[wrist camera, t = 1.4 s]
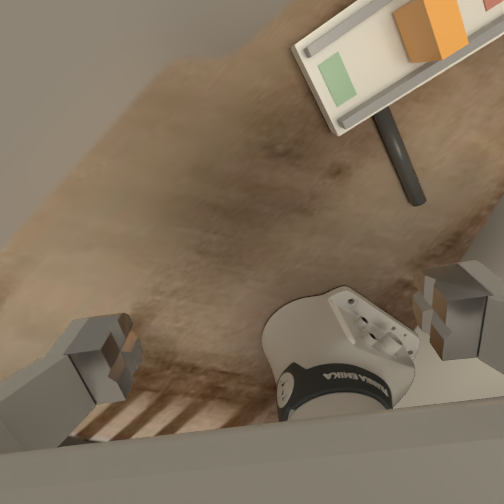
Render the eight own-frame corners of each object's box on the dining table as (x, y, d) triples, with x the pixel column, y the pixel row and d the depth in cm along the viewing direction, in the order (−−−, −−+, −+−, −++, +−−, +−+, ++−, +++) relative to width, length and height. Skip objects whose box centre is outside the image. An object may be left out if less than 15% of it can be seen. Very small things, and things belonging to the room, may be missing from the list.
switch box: (478, -86, 28) (522, -117, 24) (530, 137, 37) (570, 145, 32) (289, 47, 32) (297, 42, 28) (375, 221, 40) (392, 239, 36)
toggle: (415, -4, 28) (450, -21, 23) (433, 49, 29) (469, 43, 25) (392, 12, 28) (422, -2, 24) (411, 63, 30) (442, 60, 25)
